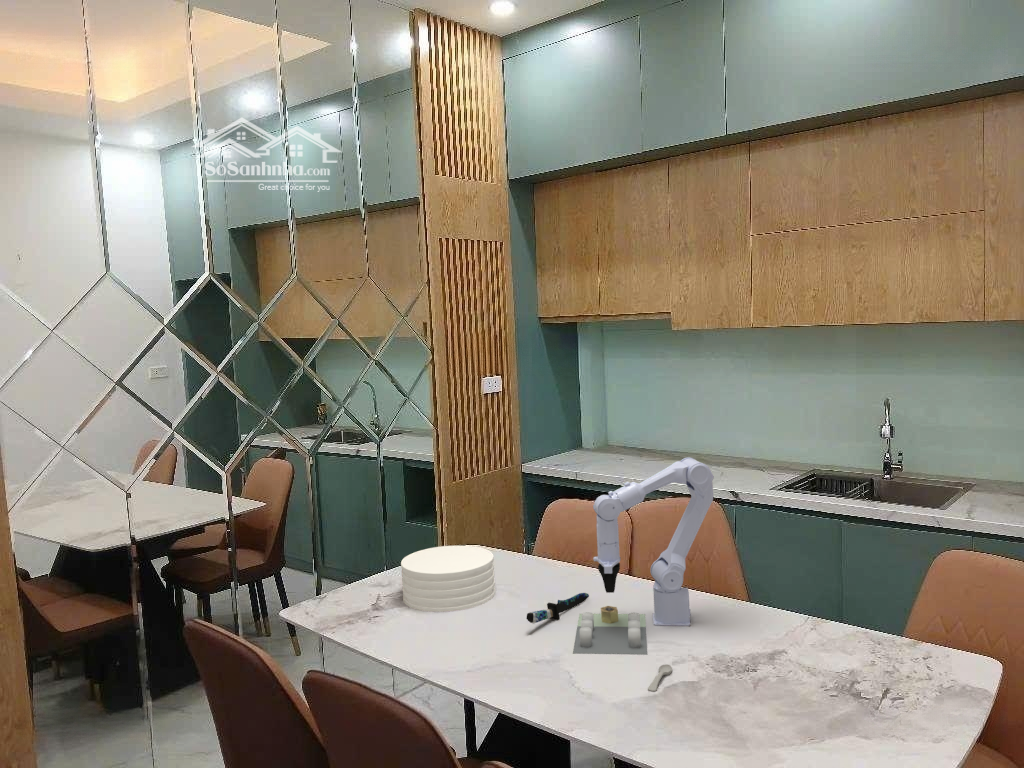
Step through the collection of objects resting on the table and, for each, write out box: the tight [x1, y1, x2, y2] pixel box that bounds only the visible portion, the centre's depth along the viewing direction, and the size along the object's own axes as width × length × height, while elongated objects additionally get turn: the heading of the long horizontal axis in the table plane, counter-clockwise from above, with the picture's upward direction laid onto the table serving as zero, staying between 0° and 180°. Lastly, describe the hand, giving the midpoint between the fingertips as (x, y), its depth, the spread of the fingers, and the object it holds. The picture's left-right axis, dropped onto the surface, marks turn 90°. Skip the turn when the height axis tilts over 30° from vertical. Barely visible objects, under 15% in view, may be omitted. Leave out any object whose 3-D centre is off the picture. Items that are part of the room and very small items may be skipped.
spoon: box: [647, 663, 673, 693], centre depth 172 cm, size 3×12×2 cm, turn 151°
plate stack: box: [400, 545, 496, 613], centre depth 234 cm, size 28×28×12 cm
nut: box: [600, 605, 619, 623], centre depth 208 cm, size 4×5×3 cm
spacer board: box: [572, 612, 649, 656], centre depth 199 cm, size 18×26×4 cm
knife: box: [526, 592, 590, 624], centre depth 213 cm, size 31×3×4 cm, turn 140°
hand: (610, 591), depth 204 cm, fingers closed
